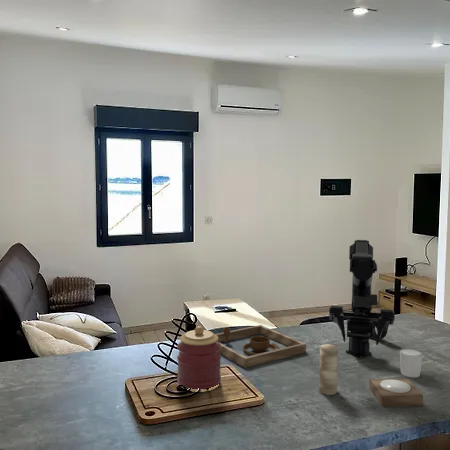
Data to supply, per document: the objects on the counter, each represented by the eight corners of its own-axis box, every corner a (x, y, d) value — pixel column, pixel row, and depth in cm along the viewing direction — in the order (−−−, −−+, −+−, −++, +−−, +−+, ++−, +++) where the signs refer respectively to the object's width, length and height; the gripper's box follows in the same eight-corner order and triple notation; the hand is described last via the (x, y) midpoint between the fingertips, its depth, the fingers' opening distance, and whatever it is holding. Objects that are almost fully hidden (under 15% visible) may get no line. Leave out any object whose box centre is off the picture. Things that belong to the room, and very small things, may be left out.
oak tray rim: (203, 344, 177) (203, 336, 177) (260, 332, 192) (260, 324, 191) (245, 367, 155) (245, 358, 155) (306, 352, 170) (306, 343, 169)
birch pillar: (315, 389, 139) (316, 346, 138) (327, 385, 142) (328, 343, 141) (327, 396, 135) (329, 351, 134) (340, 392, 138) (341, 348, 137)
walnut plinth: (369, 388, 140) (369, 377, 140) (406, 388, 140) (406, 377, 140) (382, 406, 129) (382, 394, 129) (422, 406, 129) (423, 394, 129)
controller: (381, 343, 179) (382, 317, 178) (359, 334, 190) (360, 309, 189) (390, 342, 180) (391, 316, 179) (367, 332, 192) (368, 308, 191)
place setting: (244, 362, 162) (244, 345, 161) (220, 343, 180) (220, 328, 179) (289, 354, 169) (289, 338, 168) (261, 337, 187) (261, 322, 186)
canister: (226, 378, 147) (227, 322, 145) (211, 396, 134) (212, 335, 133) (187, 373, 151) (187, 318, 149) (169, 390, 139) (169, 330, 137)
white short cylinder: (424, 379, 147) (425, 357, 146) (400, 377, 148) (401, 355, 148) (419, 370, 154) (420, 349, 153) (397, 368, 155) (398, 347, 154)
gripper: (330, 281, 144) (327, 332, 137) (395, 285, 139) (396, 338, 132) (330, 294, 153) (328, 343, 146) (392, 298, 148) (393, 349, 141)
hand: (360, 343), depth 141 cm, fingers open, 9 cm apart
